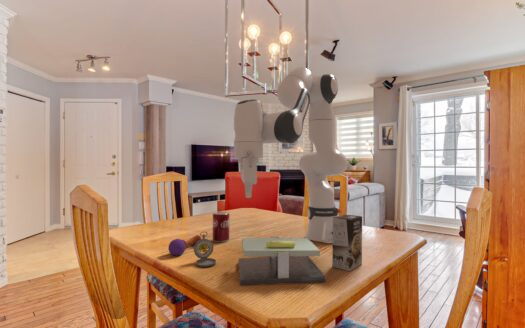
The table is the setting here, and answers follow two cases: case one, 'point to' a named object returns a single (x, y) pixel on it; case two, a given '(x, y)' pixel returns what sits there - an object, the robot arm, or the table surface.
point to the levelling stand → (279, 270)
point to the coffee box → (347, 242)
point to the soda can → (221, 226)
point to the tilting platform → (279, 247)
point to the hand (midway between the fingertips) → (248, 197)
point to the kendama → (181, 245)
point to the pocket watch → (201, 246)
